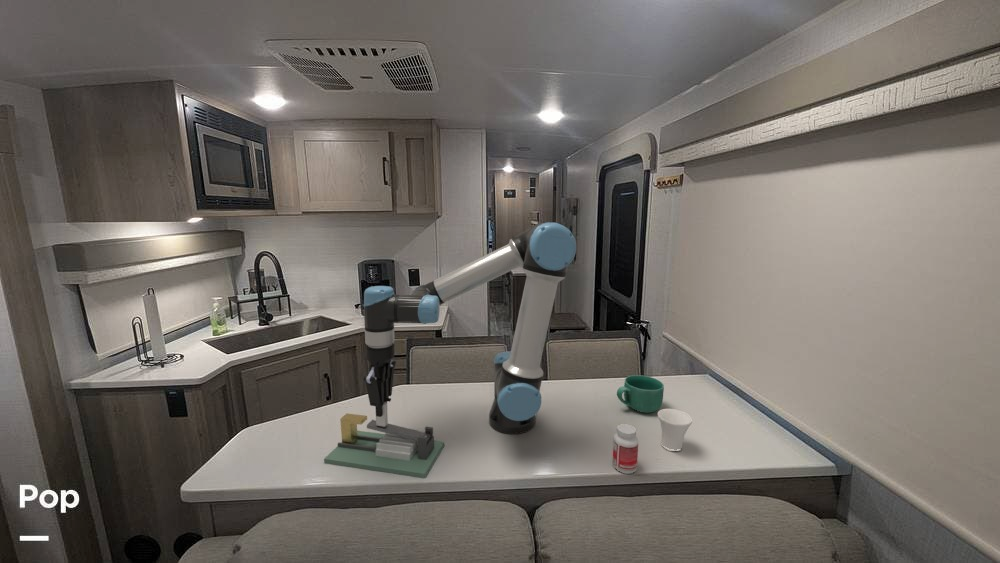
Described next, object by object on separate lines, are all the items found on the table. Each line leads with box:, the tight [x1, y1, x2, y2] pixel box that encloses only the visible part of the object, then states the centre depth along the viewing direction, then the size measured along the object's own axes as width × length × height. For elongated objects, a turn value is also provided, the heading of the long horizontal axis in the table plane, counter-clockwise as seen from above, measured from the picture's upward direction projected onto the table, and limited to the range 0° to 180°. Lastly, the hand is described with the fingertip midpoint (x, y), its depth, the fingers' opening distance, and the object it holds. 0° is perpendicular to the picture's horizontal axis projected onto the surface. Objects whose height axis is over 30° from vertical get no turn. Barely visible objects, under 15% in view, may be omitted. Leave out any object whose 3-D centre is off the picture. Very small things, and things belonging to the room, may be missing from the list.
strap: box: [366, 419, 431, 443], centre depth 102 cm, size 18×3×2 cm, turn 78°
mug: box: [616, 374, 665, 413], centre depth 127 cm, size 17×13×10 cm
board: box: [323, 426, 445, 479], centre depth 102 cm, size 29×14×7 cm, turn 78°
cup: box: [657, 408, 693, 450], centre depth 105 cm, size 9×9×10 cm
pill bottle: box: [611, 423, 639, 475], centre depth 96 cm, size 6×6×11 cm
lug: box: [340, 413, 368, 444], centre depth 105 cm, size 6×3×8 cm, turn 78°
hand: (381, 424), depth 102 cm, fingers closed
